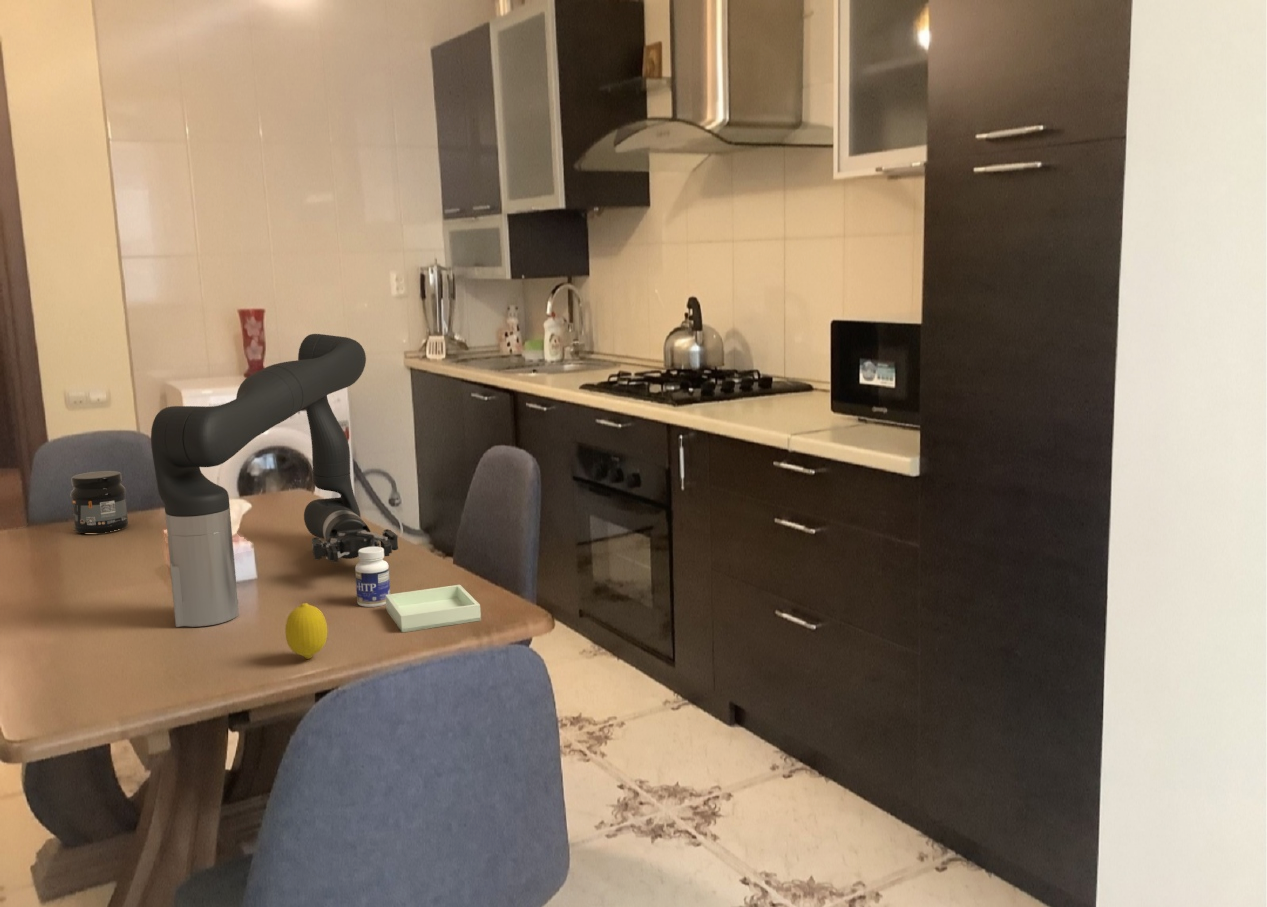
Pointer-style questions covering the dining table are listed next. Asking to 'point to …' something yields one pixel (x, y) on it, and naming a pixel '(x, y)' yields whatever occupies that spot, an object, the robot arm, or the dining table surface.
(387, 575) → the pill bottle
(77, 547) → the dining table surface
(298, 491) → the dining table surface
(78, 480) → the supplement container
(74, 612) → the dining table surface
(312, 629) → the lemon
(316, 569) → the dining table surface
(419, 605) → the tray
